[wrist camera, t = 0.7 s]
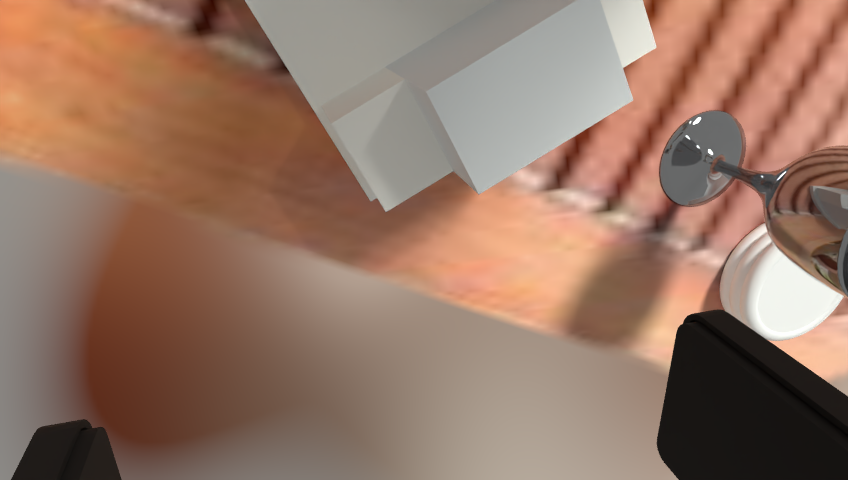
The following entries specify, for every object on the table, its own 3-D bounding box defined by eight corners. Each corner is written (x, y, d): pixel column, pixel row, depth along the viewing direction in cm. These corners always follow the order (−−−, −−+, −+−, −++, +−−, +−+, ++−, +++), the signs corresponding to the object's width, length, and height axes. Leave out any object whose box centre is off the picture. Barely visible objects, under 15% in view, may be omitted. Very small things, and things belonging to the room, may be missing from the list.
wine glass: (634, 189, 42) (813, 282, 28) (695, 85, 40) (918, 133, 26) (709, 225, 45) (902, 325, 31) (769, 131, 43) (1002, 194, 29)
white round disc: (703, 326, 49) (733, 349, 46) (734, 215, 45) (769, 231, 42) (797, 317, 52) (832, 338, 48) (834, 211, 48) (875, 226, 45)
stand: (609, 49, 37) (721, 67, 28) (367, 196, 37) (403, 262, 28) (516, -226, 30) (626, -318, 21) (215, -47, 29) (197, -64, 21)
